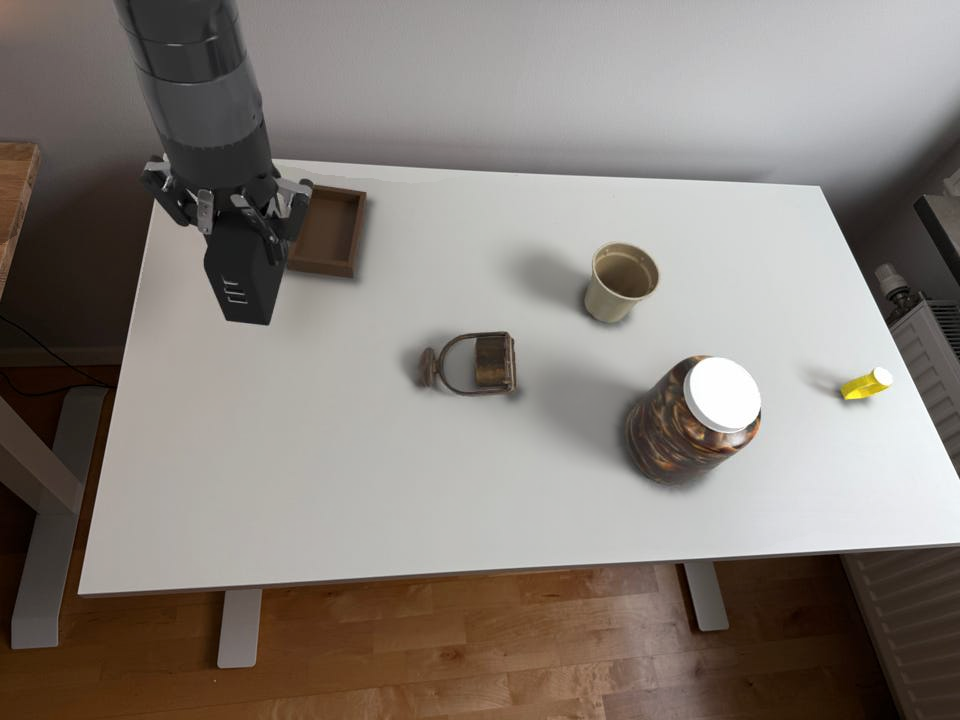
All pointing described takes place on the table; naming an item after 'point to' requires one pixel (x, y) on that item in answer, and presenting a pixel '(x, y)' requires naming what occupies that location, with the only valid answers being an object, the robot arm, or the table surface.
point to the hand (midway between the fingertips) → (250, 254)
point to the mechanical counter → (478, 363)
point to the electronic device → (242, 270)
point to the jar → (693, 419)
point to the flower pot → (620, 280)
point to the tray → (330, 232)
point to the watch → (875, 380)
